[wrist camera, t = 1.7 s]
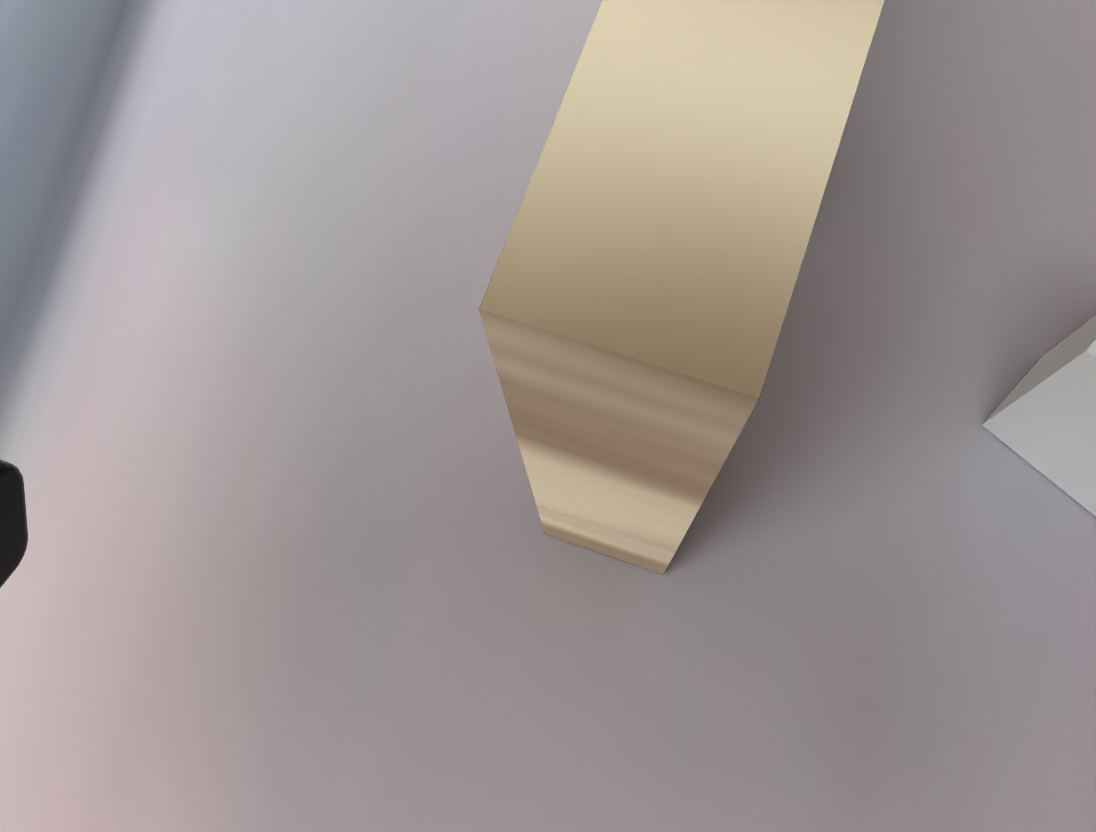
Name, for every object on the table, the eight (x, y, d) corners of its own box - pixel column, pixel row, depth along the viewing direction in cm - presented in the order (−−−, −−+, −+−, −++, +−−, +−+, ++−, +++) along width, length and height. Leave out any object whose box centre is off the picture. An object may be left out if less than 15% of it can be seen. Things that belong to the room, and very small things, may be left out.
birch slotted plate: (662, 574, 20) (758, 397, 8) (544, 533, 20) (478, 308, 9) (819, 94, 23) (1052, -537, 11) (713, 64, 23) (833, -577, 11)
